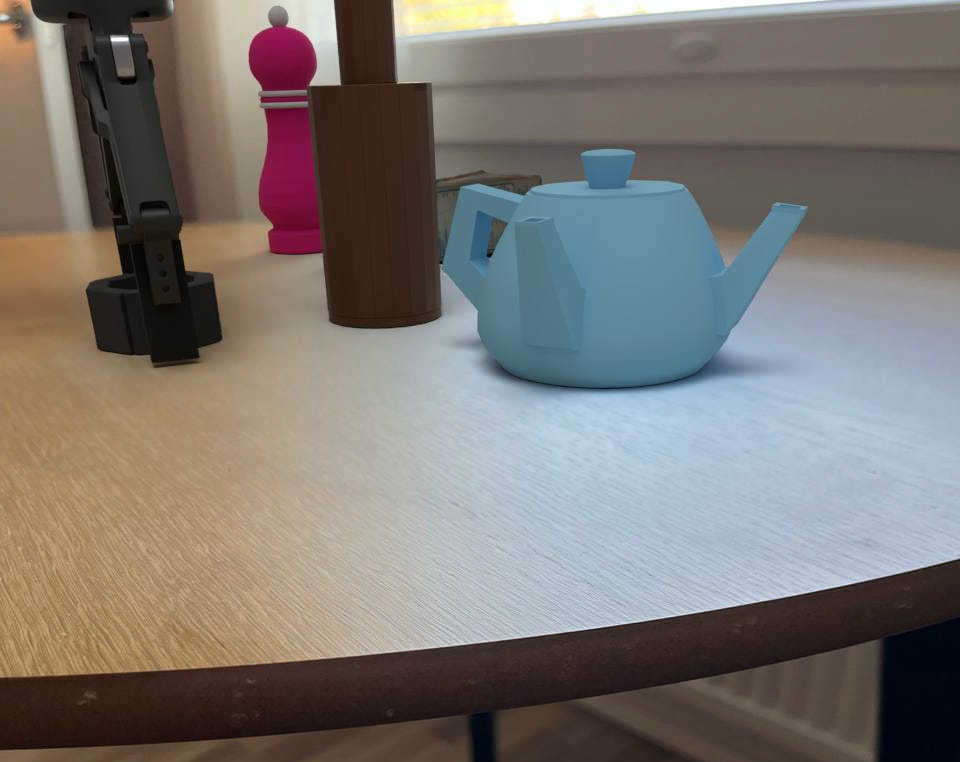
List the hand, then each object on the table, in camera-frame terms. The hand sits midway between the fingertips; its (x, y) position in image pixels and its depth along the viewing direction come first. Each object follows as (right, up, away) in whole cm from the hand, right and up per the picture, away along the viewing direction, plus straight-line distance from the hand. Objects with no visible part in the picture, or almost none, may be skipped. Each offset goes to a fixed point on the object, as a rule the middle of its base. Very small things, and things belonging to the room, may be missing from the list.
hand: (162, 338), depth 65 cm
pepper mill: (+3, +18, +33) cm, 38 cm away
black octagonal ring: (0, 0, 0) cm, 0 cm away
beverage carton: (+16, +15, +27) cm, 35 cm away
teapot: (+27, -4, -8) cm, 29 cm away
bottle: (+14, +3, +5) cm, 15 cm away
